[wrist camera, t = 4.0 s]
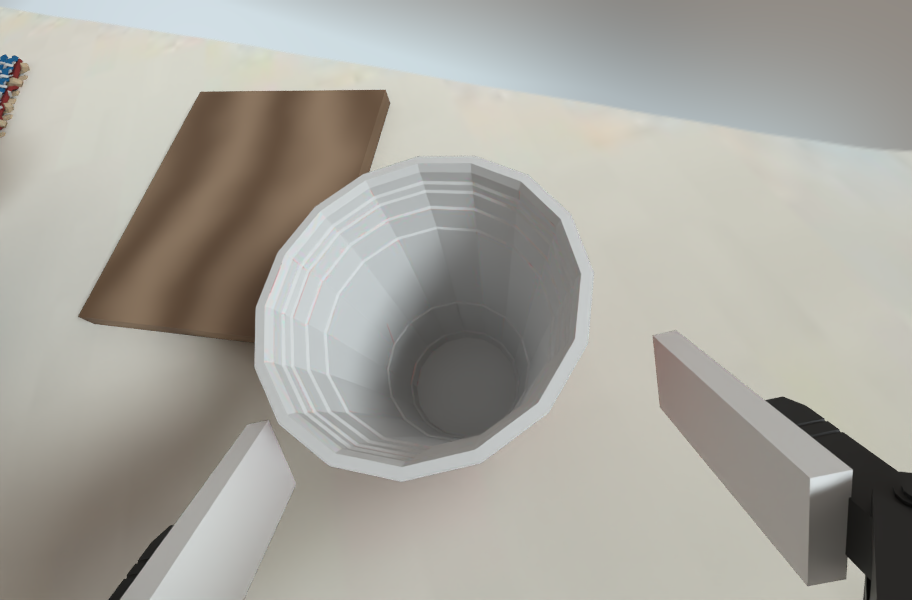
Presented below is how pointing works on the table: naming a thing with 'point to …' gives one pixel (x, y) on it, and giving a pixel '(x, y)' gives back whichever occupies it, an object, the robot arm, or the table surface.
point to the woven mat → (10, 85)
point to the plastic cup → (423, 317)
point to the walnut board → (232, 206)
